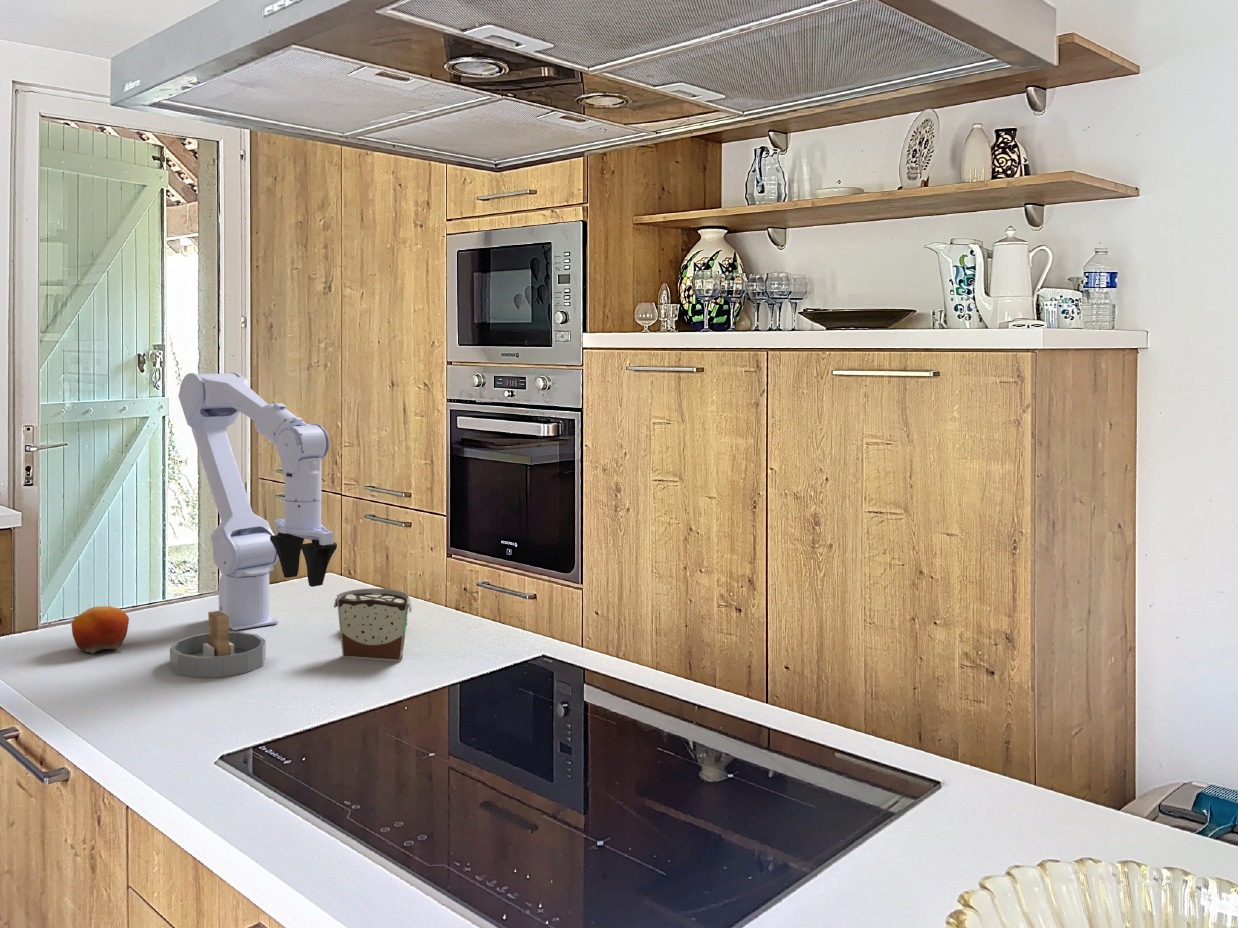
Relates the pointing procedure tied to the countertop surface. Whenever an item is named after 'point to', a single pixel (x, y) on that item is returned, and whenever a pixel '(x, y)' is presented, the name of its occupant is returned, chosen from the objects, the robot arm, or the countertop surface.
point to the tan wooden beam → (219, 633)
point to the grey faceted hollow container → (200, 661)
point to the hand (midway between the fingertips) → (303, 581)
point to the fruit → (100, 629)
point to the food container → (373, 623)
